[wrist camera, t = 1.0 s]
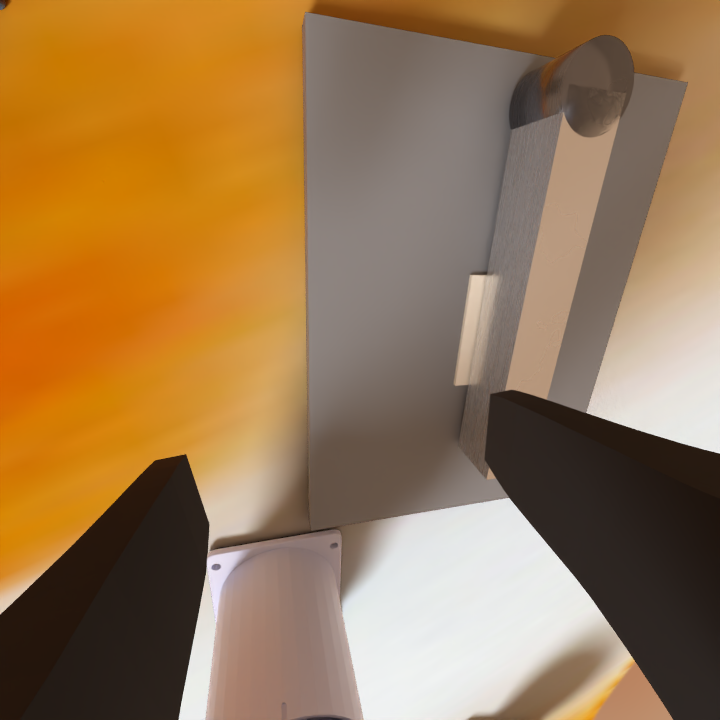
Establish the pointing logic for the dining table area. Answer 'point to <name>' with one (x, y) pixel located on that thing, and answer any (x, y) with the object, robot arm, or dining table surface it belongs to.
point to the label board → (431, 255)
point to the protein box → (2, 4)
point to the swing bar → (543, 223)
